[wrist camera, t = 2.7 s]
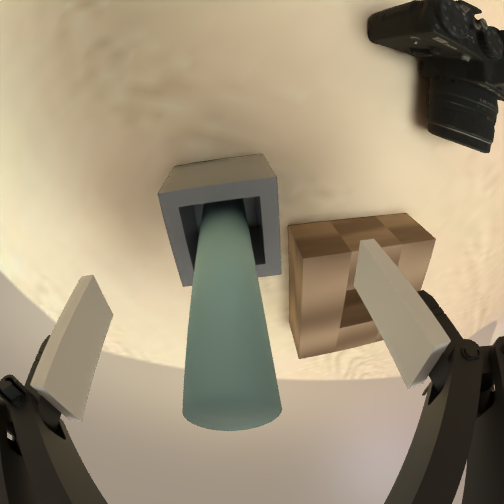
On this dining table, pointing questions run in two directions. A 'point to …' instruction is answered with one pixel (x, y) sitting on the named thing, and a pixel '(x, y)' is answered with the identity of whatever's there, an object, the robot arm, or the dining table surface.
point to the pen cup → (220, 189)
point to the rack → (345, 277)
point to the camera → (450, 64)
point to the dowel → (228, 329)
